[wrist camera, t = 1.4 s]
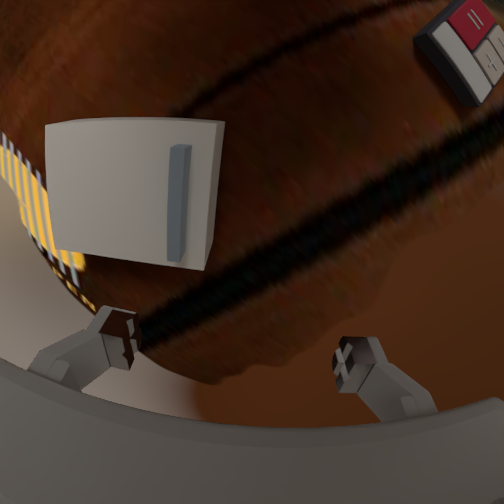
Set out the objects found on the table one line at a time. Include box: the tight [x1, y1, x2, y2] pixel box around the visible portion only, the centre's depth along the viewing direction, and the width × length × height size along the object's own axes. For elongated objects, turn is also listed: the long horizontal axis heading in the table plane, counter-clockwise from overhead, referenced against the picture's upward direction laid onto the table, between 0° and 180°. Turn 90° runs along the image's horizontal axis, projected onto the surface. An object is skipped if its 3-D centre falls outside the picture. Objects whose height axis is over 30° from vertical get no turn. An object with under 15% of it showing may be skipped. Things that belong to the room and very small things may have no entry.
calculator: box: [413, 0, 504, 107], centre depth 19 cm, size 11×4×15 cm
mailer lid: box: [45, 120, 218, 271], centre depth 24 cm, size 14×18×3 cm
